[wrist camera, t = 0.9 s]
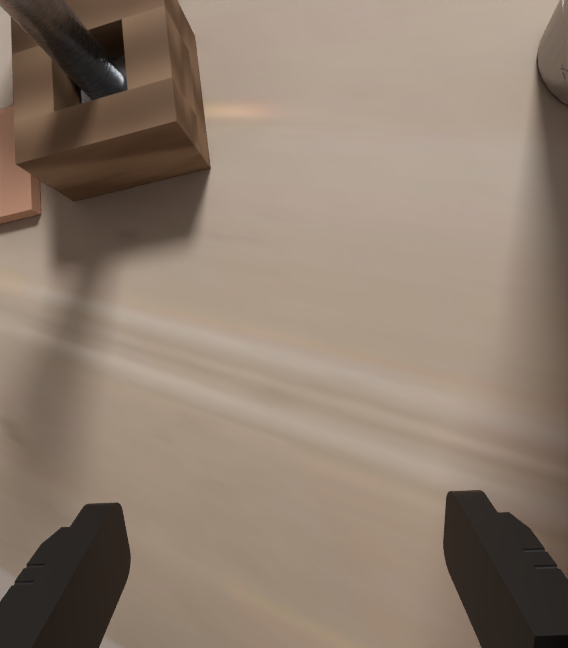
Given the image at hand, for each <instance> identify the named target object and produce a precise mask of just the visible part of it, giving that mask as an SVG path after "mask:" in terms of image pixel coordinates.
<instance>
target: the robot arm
mask: <svg viewBox="0 0 568 648" xmlns="http://www.w3.org/2000/svg"><path fill="white" fill-rule="evenodd" d="M538 67H539V70H540V73H541V76H542V79H543V81H544V82H545V84H546V86H547V87H548V89H549V90H550V91H551V92H552V93H553V94H554V95H555V96H556V97H557V98H558V99H559V100H560V101H562V102H564V103H565V104H567V105H568V0H560V1H559V3H558V5H557V7H556V9H555V11H554V13H553V15H552V17H551V19H550V21H549V24H548V26H547V28H546V30H545V32H544V34H543V36H542V39H541V41H540V44H539V50H538ZM443 548H444V556H445V561H446V565H447V568H448V571H449V574H450V576H451V578H452V580H453V583H454V585H455V587H456V590H457V592H458V594H459V597H460V599H461V601H462V603H463V606H464V608H465V610H466V613H467V615H468V617H469V619H470V622H471V624H472V626H473V629H474V631H475V633H476V636H477V638H478V640H479V642H480V645H481V647H482V648H568V579H567V578H566V577H565V575H564V574H563V572H562V571H561V570H560V569H558V568H557V564H556V563H555V562H554V560H553V559H552V558H551V556H550V555H549V554H548V552H545V550H544V547H543V545H542V544H541V543H540V541H539V540H538V539H537V537H536V536H535V535H534V533H533V532H532V531H531V529H530V528H529V527H527V526H526V525H525V524H523V523H522V522H521V521H519V520H518V519H517V518H516V517H514V516H513V515H512V514H510V513H509V512H504V513H498V512H497V511H496V509H495V508H494V506H493V505H492V503H491V502H490V501H489V499H488V498H487V496H486V495H485V493H484V492H483V491H481V490H472V491H449V492H448V494H447V497H446V510H445V525H444V539H443ZM130 561H131V556H130V548H129V543H128V537H127V532H126V526H125V521H124V516H123V510H122V507H121V505H120V504H119V503H94V504H86V505H85V506H84V507H83V508H82V510H81V511H80V513H79V514H78V516H77V517H76V519H75V520H74V522H73V523H72V525H71V526H70V527H61V528H60V529H59V530H58V531H57V532H55V533H54V534H53V535H52V536H51V537H49V538H48V539H47V540H46V541H45V542H43V543H42V544H41V545H40V547H39V548H38V549H37V551H36V552H35V554H34V555H33V556H32V558H31V559H30V561H29V562H28V563H27V567H26V568H24V569H23V570H22V572H21V573H20V575H19V576H18V577H17V579H16V580H15V584H14V586H11V588H10V589H9V590H8V592H7V593H6V594H5V596H4V597H3V598H2V600H1V601H0V648H99V646H100V644H101V641H102V639H103V636H104V634H105V632H106V629H107V627H108V625H109V622H110V620H111V617H112V615H113V613H114V610H115V608H116V605H117V603H118V601H119V598H120V596H121V594H122V591H123V589H124V586H125V584H126V581H127V578H128V575H129V570H130Z"/></svg>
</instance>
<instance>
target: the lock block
mask: <svg viewBox="0 0 568 648" xmlns="http://www.w3.org/2000/svg"><path fill="white" fill-rule="evenodd" d="M65 2H66V3H67V4H68V5H69V7H70V8H71V9H72V10H73V12H74V13H75V14H76V16H77V17H78V18H79V19H80V21H81V22H82V23H83V24H84V26H85V27H86V28H87V30H88V31H89V32H90V33H91V35H92V36H93V37H94V38H95V40H96V41H97V42H98V44H99V45H100V46H101V47H102V49H103V50H104V51H105V52H106V54H107V55H108V56H109V57H110V59H114V58H118V57H121V56H124V55H125V64H126V76H127V88H128V90H126V91H123V92H120V93H116V94H113V95H109V96H106V97H102V98H99V99H95V100H92V101H88V102H85V103H82V97H81V89H80V88H79V87H78V86H77V85H76V84H75V83H74V82H73V80H72V79H71V78H70V77H69V76H68V75H67V74H66V73H65V72H64V71H63V70H62V69H61V68H60V67H59V66H58V65H57V64H56V63H55V62H54V61H53V60H52V59H51V58H50V57H49V56H48V55H47V54H46V52H45V51H44V50H43V49H42V48H41V47H40V46H39V45H38V44H37V43H36V42H35V41H34V40H33V39H32V38H31V37H30V36H29V35H28V34H27V33H26V32H25V31H24V30H23V29H22V28H21V27H20V26H19V24H18V23H17V22H16V21H15V20H14V19H13V18H12V17H11V35H12V69H13V102H14V136H15V164H16V165H17V166H19V167H21V168H22V169H24V170H25V171H27V172H28V173H30V174H32V175H33V176H35V177H36V178H38V179H39V180H41V181H43V182H44V183H46V184H47V185H49V186H51V187H52V188H54V189H55V190H57V191H58V192H60V193H62V194H63V195H65V196H66V197H68V198H69V199H71V200H73V201H77V200H81V199H86V198H90V197H94V196H98V195H102V194H106V193H110V192H114V191H118V190H122V189H126V188H130V187H134V186H139V185H143V184H147V183H151V182H155V181H159V180H163V179H167V178H171V177H175V176H179V175H183V174H187V173H191V172H196V171H200V170H204V169H208V168H210V159H209V151H208V143H207V134H206V126H205V117H204V109H203V100H202V92H201V83H200V75H199V67H198V58H197V50H196V41H195V35H194V33H193V31H192V29H191V27H190V25H189V23H188V21H187V19H186V17H185V15H184V13H183V11H182V9H181V7H180V5H179V3H178V1H177V0H65Z"/></svg>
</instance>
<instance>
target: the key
mask: <svg viewBox="0 0 568 648" xmlns="http://www.w3.org/2000/svg"><path fill="white" fill-rule="evenodd" d="M0 6H1V7H2V8H3V9H4V10H5V11H6V12H7V13H8V14H9V15H10V16H11V17H12V18H13V19H14V20H15V21H16V22H17V23H18V24H19V26H20V27H21V28H22V29H23V30H24V31H25V32H26V33H27V34H28V35H29V36H30V37H31V38H32V39H33V40H34V41H35V42H36V43H37V44H38V45H39V46H40V47H41V48H42V49H43V50H44V51H45V52H46V54H47V55H48V56H49V57H50V58H51V59H52V60H53V61H54V62H55V63H56V64H57V65H58V66H59V67H60V68H61V69H62V70H63V71H64V72H65V73H66V74H67V75H68V76H69V77H70V78H71V79H72V80H73V82H74V83H75V84H76V85H77V86H78V87H79V88H80V89H81V97H82V103H85V102H88V101H92V100H95V99H99V98H102V97H106V96H109V95H113V94H116V93H120V92H123V91H126V90H128V88H127V76H126V64H125V55H124V56H121V57H118V58H114V59H110V57H109V56H108V55H107V54H106V52H105V51H104V50H103V49H102V47H101V46H100V45H99V44H98V42H97V41H96V40H95V38H94V37H93V36H92V35H91V33H90V32H89V31H88V30H87V28H86V27H85V26H84V24H83V23H82V22H81V21H80V19H79V18H78V17H77V16H76V14H75V13H74V12H73V10H72V9H71V8H70V7H69V5H68V4H67V3H66V2H65V0H0Z"/></svg>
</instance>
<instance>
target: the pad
mask: <svg viewBox="0 0 568 648" xmlns="http://www.w3.org/2000/svg"><path fill="white" fill-rule="evenodd" d="M39 214H41V203H40V180H39V179H38V178H36V177H35V176H33V175H32V174H30V173H28V172H27V171H25V170H24V169H22V168H21V167H19V166H17V165H16V164H15V136H14V105H13V106H9V107H6V108H2V109H0V224H2V223H6V222H10V221H14V220H19V219H23V218H27V217H31V216H35V215H39Z"/></svg>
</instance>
